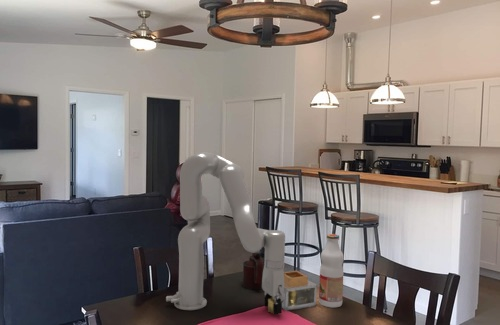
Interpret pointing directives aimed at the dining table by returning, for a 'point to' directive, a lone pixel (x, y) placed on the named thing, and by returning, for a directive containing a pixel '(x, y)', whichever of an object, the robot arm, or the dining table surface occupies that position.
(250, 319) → the dining table surface
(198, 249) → the robot arm
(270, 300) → the brass pellet
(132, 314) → the dining table surface
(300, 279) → the translucent plastic box
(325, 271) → the fruit juice
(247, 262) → the oil can
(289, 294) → the brass pellet
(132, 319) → the dining table surface
